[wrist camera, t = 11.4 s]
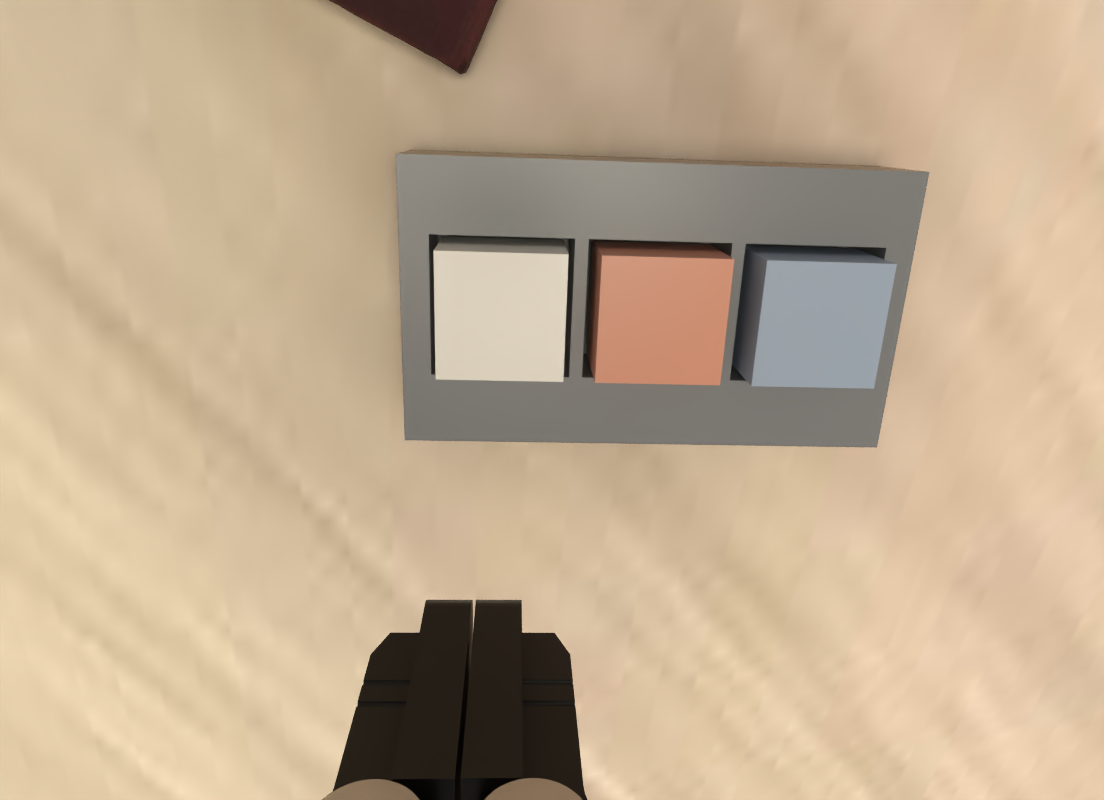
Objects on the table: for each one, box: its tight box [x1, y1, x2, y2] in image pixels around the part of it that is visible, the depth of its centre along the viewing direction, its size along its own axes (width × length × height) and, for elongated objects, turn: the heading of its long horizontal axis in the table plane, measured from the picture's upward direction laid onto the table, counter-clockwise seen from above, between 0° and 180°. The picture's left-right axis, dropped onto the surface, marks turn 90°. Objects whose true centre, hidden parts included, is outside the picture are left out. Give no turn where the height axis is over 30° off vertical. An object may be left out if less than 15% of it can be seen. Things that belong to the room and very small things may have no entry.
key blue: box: [732, 245, 897, 389], centre depth 36 cm, size 6×6×4 cm
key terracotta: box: [587, 241, 734, 385], centre depth 35 cm, size 6×6×4 cm
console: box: [396, 150, 929, 447], centre depth 38 cm, size 23×13×5 cm, turn 88°
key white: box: [433, 236, 569, 382], centre depth 35 cm, size 6×6×4 cm
